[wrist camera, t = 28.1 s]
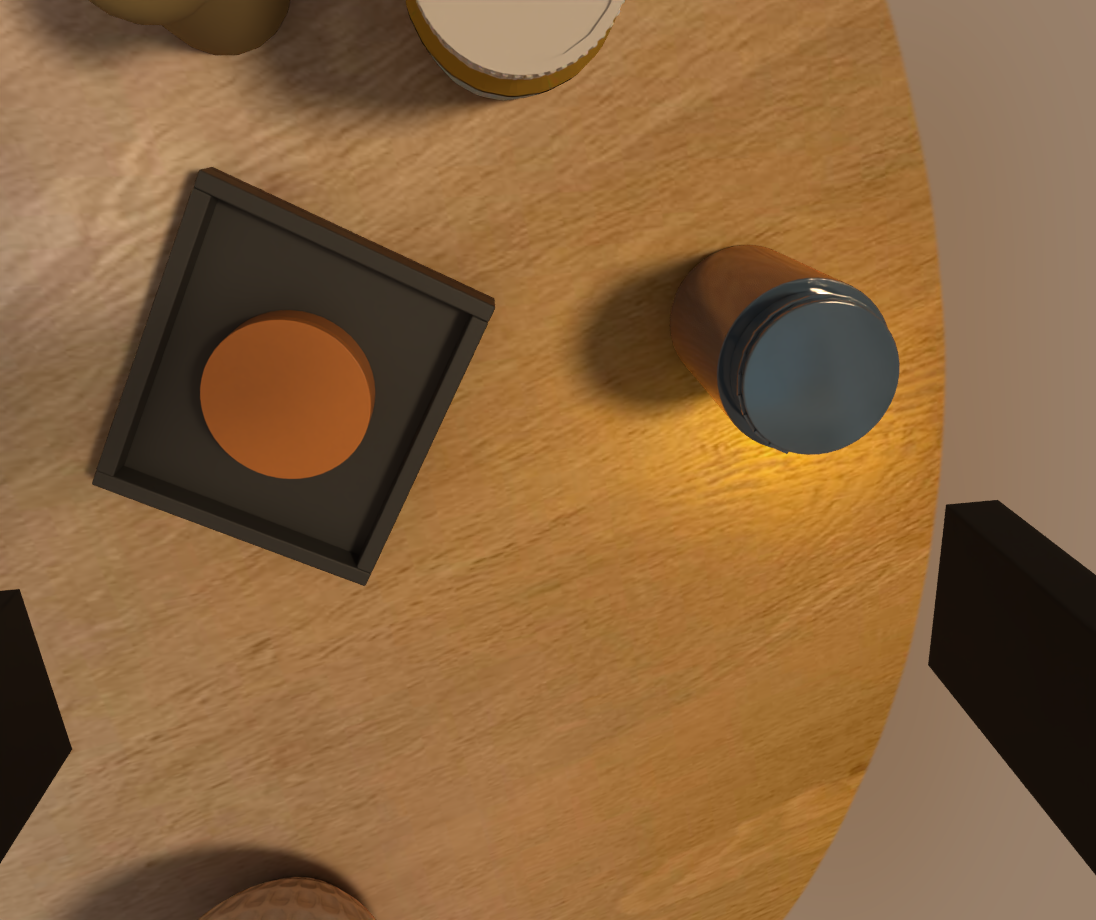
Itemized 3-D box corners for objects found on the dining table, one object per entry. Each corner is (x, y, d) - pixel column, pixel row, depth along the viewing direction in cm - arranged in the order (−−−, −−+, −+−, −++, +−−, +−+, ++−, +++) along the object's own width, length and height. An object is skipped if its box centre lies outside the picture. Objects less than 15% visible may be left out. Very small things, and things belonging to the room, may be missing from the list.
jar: (714, 219, 42) (792, 253, 32) (838, 283, 43) (949, 335, 33) (644, 352, 44) (695, 424, 34) (764, 409, 45) (848, 494, 35)
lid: (340, 487, 44) (334, 504, 42) (190, 427, 43) (176, 442, 41) (399, 350, 42) (396, 362, 40) (244, 282, 40) (232, 290, 39)
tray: (211, 166, 39) (198, 169, 37) (494, 298, 42) (495, 307, 40) (106, 469, 44) (90, 484, 42) (369, 568, 47) (365, 587, 45)
